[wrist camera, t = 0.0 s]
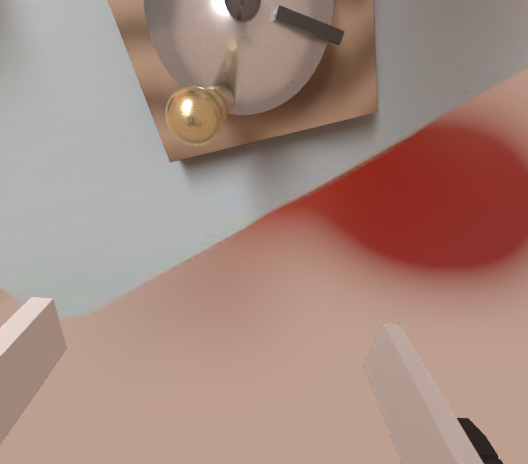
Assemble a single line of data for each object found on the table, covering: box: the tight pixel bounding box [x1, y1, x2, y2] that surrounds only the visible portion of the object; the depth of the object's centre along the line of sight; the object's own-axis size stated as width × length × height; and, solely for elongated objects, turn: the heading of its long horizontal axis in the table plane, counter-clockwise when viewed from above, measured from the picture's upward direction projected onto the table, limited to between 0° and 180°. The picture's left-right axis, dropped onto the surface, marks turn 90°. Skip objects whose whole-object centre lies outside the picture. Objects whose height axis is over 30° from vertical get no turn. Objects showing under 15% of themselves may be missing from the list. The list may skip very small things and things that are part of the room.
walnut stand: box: [108, 0, 377, 162], centre depth 27 cm, size 24×24×6 cm
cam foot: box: [144, 0, 345, 146], centre depth 19 cm, size 16×17×18 cm
